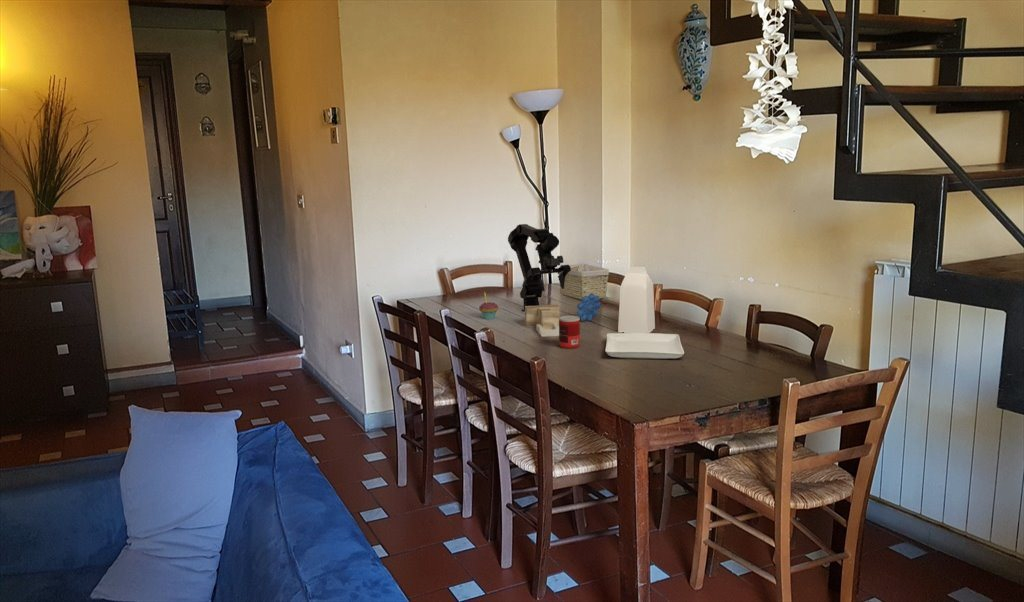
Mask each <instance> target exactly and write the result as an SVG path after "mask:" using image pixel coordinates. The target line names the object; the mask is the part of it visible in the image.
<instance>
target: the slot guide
mask: <svg viewBox="0 0 1024 602" xmlns="http://www.w3.org/2000/svg"><path fill="white" fill-rule="evenodd" d="M535 327H536V331H538V332H537V333H538V335H540V337H559V325H557V324H556V323H552V329H550V330H544V329H543V327H542V326H541V325H540V324H536V326H535Z"/></svg>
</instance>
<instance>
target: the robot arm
mask: <svg viewBox="0 0 1024 602" xmlns="http://www.w3.org/2000/svg"><path fill="white" fill-rule="evenodd" d="M529 238H530V241H532V242H533V243H535V244H536V243H538V244H536V246H535V251H537V256H538V259H539V260H538V264H540V267H541V268H540V267H537V266H536V267H532V264H531V262H530V261H531V260H530V258H529V254H528V252H527V245H528V239H529ZM507 241H508V244H509V246H510V248H511V250H513V251H514V252H515V254H516V256H517V260H518V264H519V268H520V270H521V273H522V276H523V282H522V285H521V286H522V289H520V292H519V296H520V298H521V299H523V309H521V312H525V306H540V300H539V298H542V295H543V292H545V291H546V290H545V285H544V282H543V278H542V277H543V276H542V275H545V274H547V275H548V274H555V273H557V274H558V275H557V278H558V283H559V286H560V285H561V287H560V289H561V288H562V289H564V283H565V277H566V274H568V273H569V272H570V271H571V267H570V266H569V264H563V263H564V257H563V255H557V256H556V258H555V256H554V255H553V254H552V252H553V251H554V250H555V249H556V248H557V247H558V246H559V245H560V240H559V238H558V237H557V236H556V235H554V233H553V232H550V231H549V230H548V228H536V227H534V226H531V225H529V224H527V223H522V224H517V225H516V226H515V228H514V229H512V230H511V231H510V232H509V234H508V237H507ZM558 266H559V267H558Z"/></svg>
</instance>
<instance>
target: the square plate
mask: <svg viewBox="0 0 1024 602" xmlns="http://www.w3.org/2000/svg"><path fill="white" fill-rule="evenodd" d="M604 352H605V353H606V354H607V355H608V356H610V357H612V358H620V359H646V360H647V359H653V360H657V359H659V360H660V359H661V360H668V359H679V358H682V356H684V354H685V351H684V348H683V346H682V342H681V338H680V335H679V334H677V333H658V332H657V333H656V332H655V333H653V332H650V333H622V332H618V333H612V332H611V333H606V344H605V351H604Z"/></svg>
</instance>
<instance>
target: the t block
mask: <svg viewBox="0 0 1024 602" xmlns="http://www.w3.org/2000/svg"><path fill="white" fill-rule="evenodd" d="M560 317H561V316H560V305H559V304H545V305H542V304H541V305H540V304H539V306H525V311H524V323H525V324H524V325H525V326H526V327H527V326H528V327H527V328H530V327H531V326H534V327H536V324H540V325H541V326H542V327H543V329H544V330H550V329H553V325H552V323H556V324H557V325H558V326H559V318H560ZM529 326H530V327H529Z"/></svg>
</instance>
